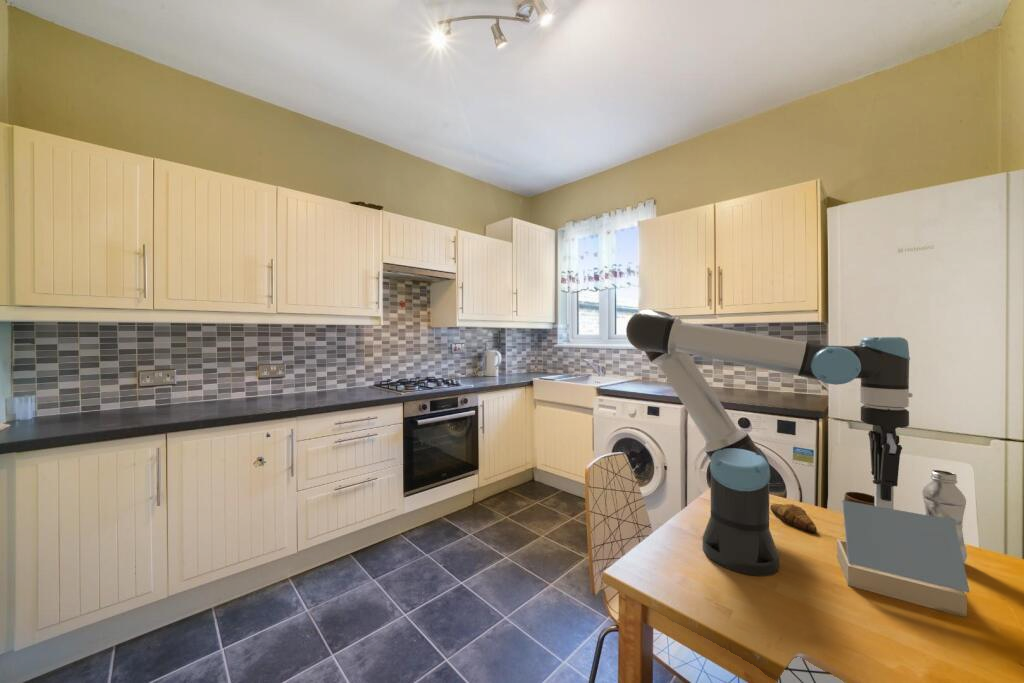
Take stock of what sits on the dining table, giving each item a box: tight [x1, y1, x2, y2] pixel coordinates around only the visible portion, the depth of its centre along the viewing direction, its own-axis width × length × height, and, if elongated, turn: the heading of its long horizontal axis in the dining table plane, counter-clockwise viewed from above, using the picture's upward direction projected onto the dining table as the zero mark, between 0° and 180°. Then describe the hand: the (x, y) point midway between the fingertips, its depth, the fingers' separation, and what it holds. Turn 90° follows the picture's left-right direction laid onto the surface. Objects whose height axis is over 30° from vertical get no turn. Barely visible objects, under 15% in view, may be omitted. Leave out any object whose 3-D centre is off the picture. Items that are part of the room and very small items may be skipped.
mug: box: [843, 491, 874, 527], centre depth 92 cm, size 12×8×9 cm, turn 2°
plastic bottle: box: [921, 469, 968, 564], centre depth 83 cm, size 6×7×20 cm
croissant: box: [769, 503, 817, 534], centre depth 101 cm, size 14×7×5 cm, turn 7°
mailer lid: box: [841, 499, 970, 593], centre depth 72 cm, size 16×12×1 cm
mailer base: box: [836, 538, 968, 619], centre depth 75 cm, size 16×12×4 cm
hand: (883, 512), depth 81 cm, fingers closed
